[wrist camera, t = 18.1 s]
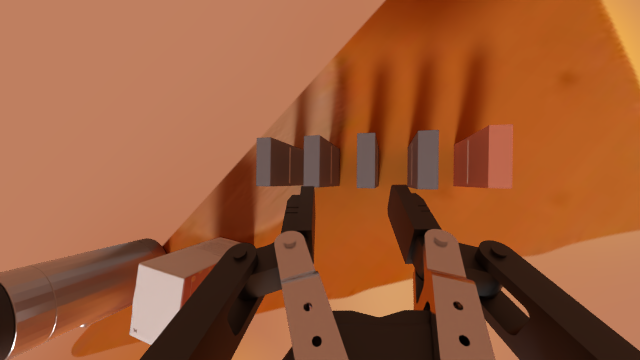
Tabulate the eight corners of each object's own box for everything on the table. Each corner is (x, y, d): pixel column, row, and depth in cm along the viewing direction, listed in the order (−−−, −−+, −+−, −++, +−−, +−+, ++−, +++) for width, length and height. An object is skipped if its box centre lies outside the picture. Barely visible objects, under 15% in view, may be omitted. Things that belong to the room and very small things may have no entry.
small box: (247, 296, 36) (173, 357, 23) (213, 284, 38) (126, 336, 25) (255, 244, 36) (183, 278, 23) (220, 235, 37) (136, 262, 25)
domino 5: (453, 186, 28) (487, 188, 19) (454, 144, 28) (489, 125, 19) (468, 186, 28) (512, 188, 18) (469, 144, 28) (513, 124, 18)
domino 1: (293, 185, 34) (256, 186, 24) (293, 150, 34) (256, 138, 24) (303, 185, 34) (270, 186, 24) (304, 150, 34) (270, 137, 24)
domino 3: (365, 186, 31) (356, 187, 22) (366, 148, 31) (357, 133, 22) (378, 186, 31) (374, 188, 21) (378, 148, 31) (375, 132, 21)
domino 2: (327, 185, 33) (303, 186, 23) (328, 149, 33) (304, 135, 23) (339, 185, 32) (319, 187, 23) (339, 149, 32) (319, 135, 23)
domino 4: (407, 186, 30) (417, 188, 20) (407, 147, 30) (418, 130, 20) (421, 186, 29) (438, 189, 20) (421, 147, 29) (438, 129, 20)
